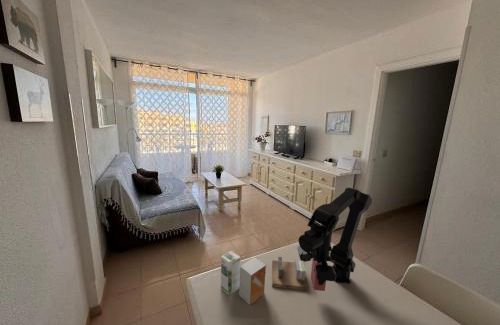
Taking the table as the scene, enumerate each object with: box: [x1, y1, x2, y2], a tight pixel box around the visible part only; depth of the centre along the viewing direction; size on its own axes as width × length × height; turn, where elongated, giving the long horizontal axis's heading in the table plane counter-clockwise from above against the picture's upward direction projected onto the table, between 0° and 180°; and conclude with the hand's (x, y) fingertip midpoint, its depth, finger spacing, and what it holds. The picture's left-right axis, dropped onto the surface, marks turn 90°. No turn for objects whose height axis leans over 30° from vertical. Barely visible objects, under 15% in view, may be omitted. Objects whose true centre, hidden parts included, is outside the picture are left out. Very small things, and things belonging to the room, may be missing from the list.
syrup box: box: [220, 250, 241, 297], centre depth 81 cm, size 6×6×14 cm
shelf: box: [271, 259, 308, 291], centre depth 89 cm, size 14×14×2 cm
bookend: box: [277, 256, 283, 279], centre depth 89 cm, size 2×8×4 cm, turn 174°
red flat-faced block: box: [310, 259, 327, 292], centre depth 77 cm, size 4×6×9 cm, turn 174°
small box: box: [238, 257, 267, 306], centre depth 78 cm, size 8×6×13 cm
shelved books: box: [294, 258, 306, 280], centre depth 88 cm, size 3×7×4 cm, turn 174°
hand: (318, 278), depth 77 cm, fingers closed on red flat-faced block, 6 cm apart
